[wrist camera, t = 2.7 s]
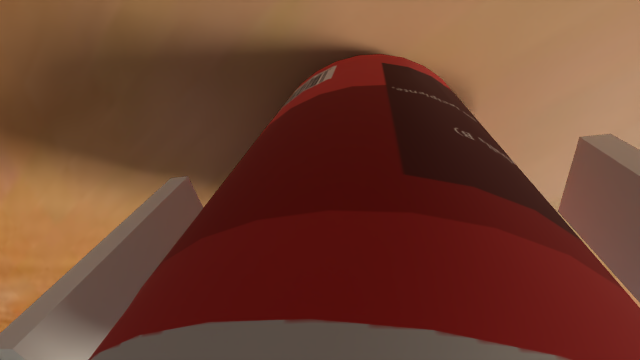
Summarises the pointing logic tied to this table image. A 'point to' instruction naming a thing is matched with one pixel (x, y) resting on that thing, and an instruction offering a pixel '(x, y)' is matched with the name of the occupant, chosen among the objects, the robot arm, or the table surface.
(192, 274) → the canned food
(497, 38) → the table surface
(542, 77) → the table surface
